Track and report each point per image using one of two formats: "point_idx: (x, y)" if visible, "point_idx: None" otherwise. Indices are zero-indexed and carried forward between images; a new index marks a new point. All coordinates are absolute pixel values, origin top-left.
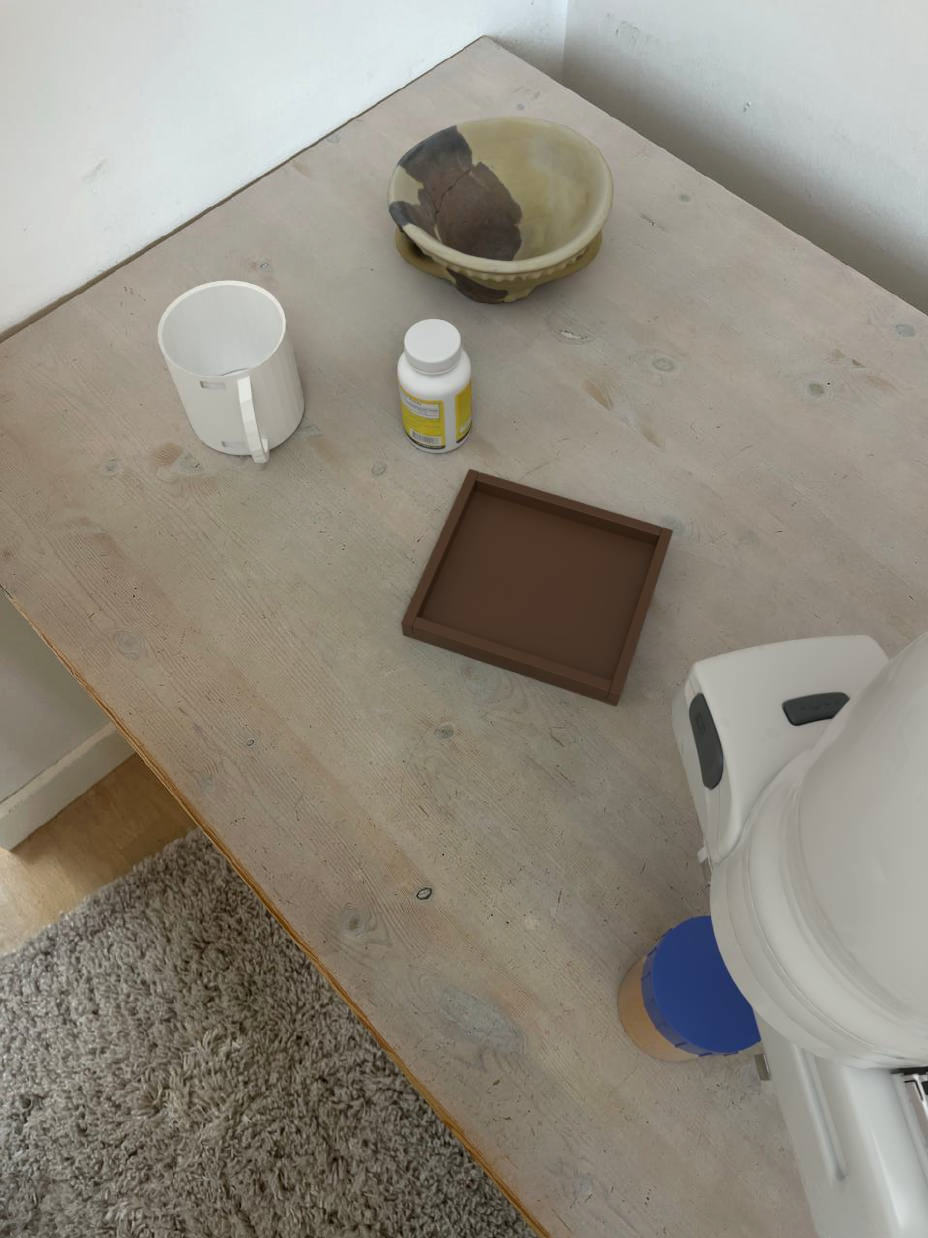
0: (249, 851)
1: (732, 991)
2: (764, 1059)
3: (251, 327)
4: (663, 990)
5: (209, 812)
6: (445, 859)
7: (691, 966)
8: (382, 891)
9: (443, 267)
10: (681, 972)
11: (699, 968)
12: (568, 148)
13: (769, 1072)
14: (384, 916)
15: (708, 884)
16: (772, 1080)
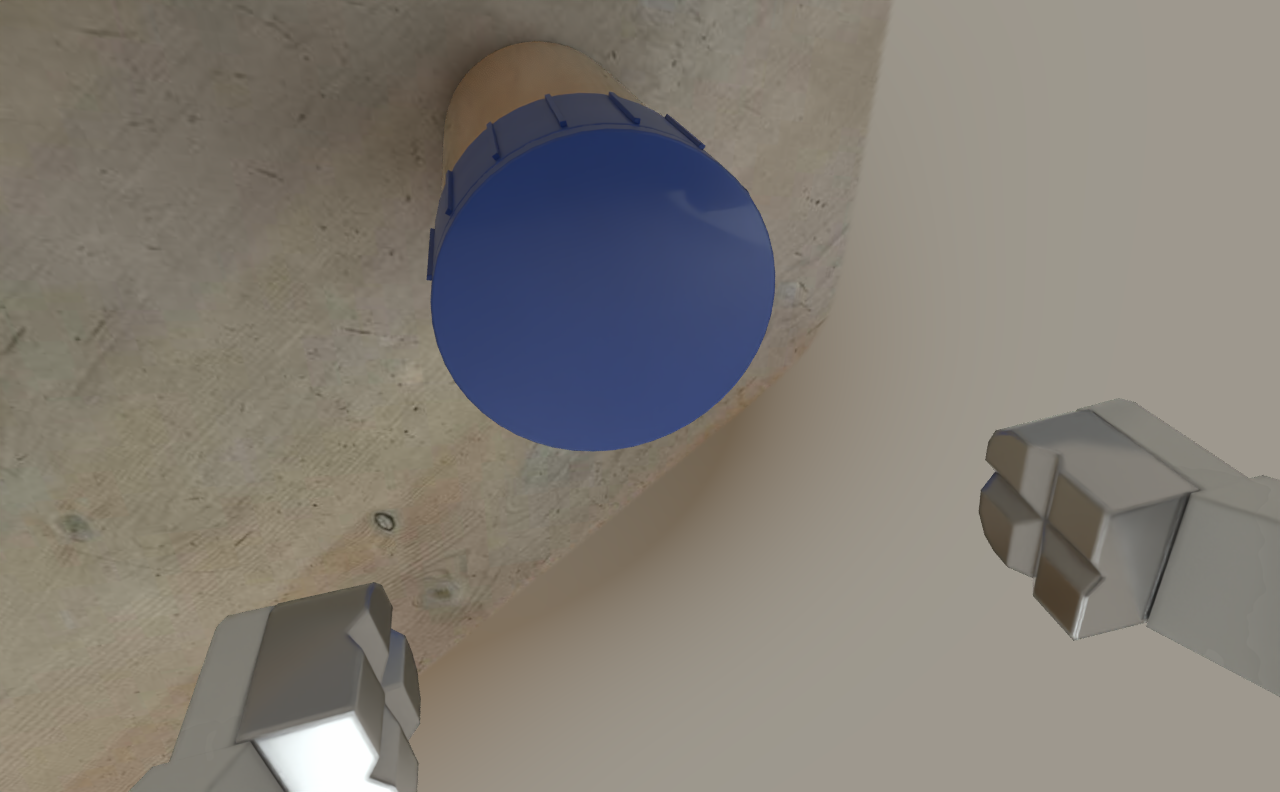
0: None
1: (635, 273)
2: (1090, 635)
3: None
4: (625, 427)
5: None
6: (323, 501)
7: (570, 366)
8: (390, 570)
9: None
10: (586, 392)
11: (576, 350)
12: None
13: (1131, 620)
14: (427, 563)
15: (417, 718)
16: (1177, 640)
